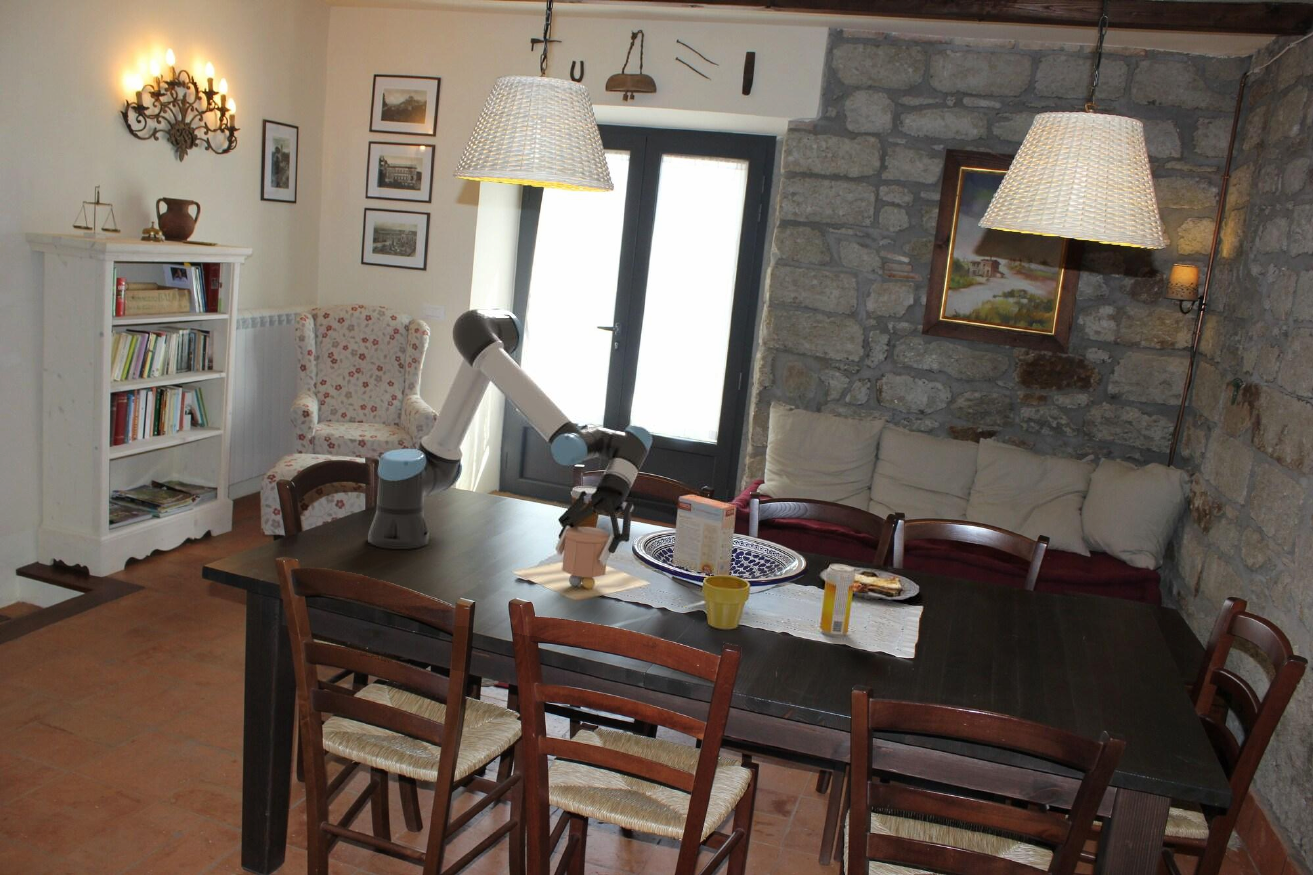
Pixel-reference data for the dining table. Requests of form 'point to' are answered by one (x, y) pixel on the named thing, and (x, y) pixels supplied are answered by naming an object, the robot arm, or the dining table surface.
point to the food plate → (880, 584)
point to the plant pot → (725, 600)
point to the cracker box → (704, 535)
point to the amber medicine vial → (837, 600)
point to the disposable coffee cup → (576, 493)
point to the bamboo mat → (559, 583)
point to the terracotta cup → (584, 551)
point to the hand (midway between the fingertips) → (579, 557)
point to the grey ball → (575, 580)
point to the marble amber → (588, 582)
